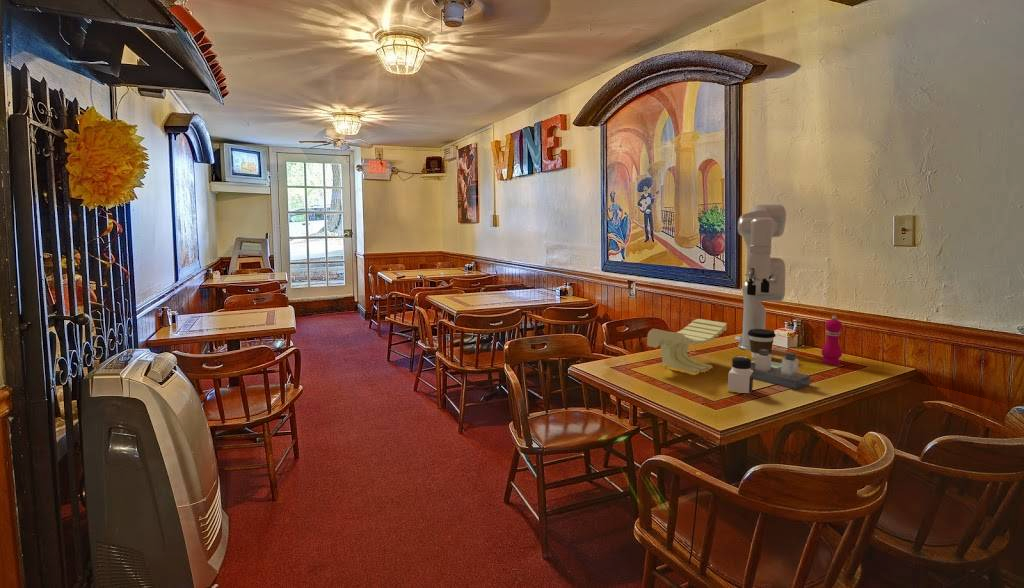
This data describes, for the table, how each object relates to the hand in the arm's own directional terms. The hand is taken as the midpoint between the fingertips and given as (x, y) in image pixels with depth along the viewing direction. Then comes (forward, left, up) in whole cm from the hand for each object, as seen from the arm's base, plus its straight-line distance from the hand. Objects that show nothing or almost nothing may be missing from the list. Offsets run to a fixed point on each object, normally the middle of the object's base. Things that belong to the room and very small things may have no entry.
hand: (758, 293), depth 216 cm
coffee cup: (-6, +15, -31) cm, 35 cm away
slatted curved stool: (-17, -21, -31) cm, 41 cm away
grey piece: (+12, -10, -30) cm, 34 cm away
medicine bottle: (+12, -30, -31) cm, 44 cm away
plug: (+9, -10, -29) cm, 32 cm away
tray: (+3, +3, -30) cm, 31 cm away
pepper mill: (+16, +30, -31) cm, 46 cm away
